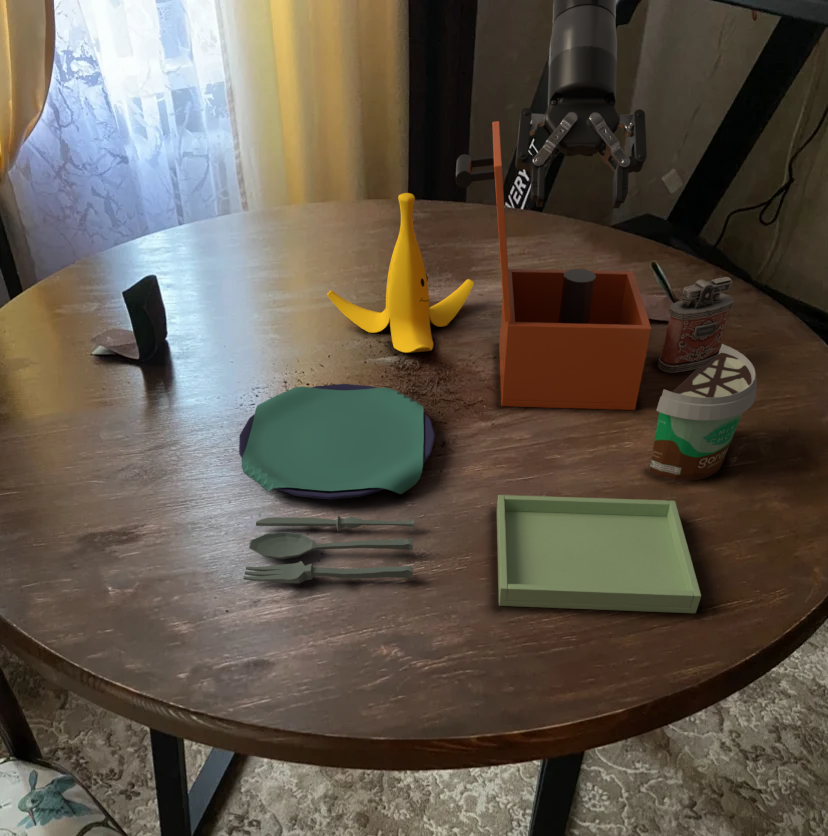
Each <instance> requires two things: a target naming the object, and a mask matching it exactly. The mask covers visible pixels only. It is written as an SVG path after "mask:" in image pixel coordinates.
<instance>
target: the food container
mask: <svg viewBox="0 0 828 836" xmlns="http://www.w3.org/2000/svg"><path fill="white" fill-rule="evenodd" d="M719 350H720V352H719V354H718V355H717V356H716V357H715V358H714V359H713V360H711V361H710V362H709V363H707V364H706V365H704V366H702V367H700V368H697V369H694V371H693V372H692V373H691V374H689V375H688V376H687V377H686V378H685V379H684V381H682V382H681V383H680V384H679V385H678V386H676V388H674V389H673V390H672V391H670V390H667V389H666V388H665V389H662V390H663V391H662V393H661V396H660V398H659V401H658V404H657V407H656V412H658V417H657V423H656V429H655V435H654V441H653V446H652V451H651V459H650V463H649V469H648V473H649V474H651V475H654V476H657V477H658V478H659V477H660V478H664V479H669V480H674V481H688V482H689V481H690V482H692V481H696V480H703V479H706V478H708V477H711V476H713V475H714V474H716V473H717V472H718V471H720V469H721V467H722V465H723V463H724V460H725V457H726V455H727V452H728V450H729V448H730V445H731V443H732V440H733V437H734V435H735V433H736V430H737V428H738V425H739V423H740V420H741V417H742V415H743V413H745V412H746V411H747V410H749V409H750V408H751V407H752V406H753V404H754V403H755V401H756V399H757V386H758V378H757V374H756V369H755V366H754V365H753V362H751V361H750V360H749V358H747V356H745V355H744V354H743V353H741V352H740V351H738V350H736V349H735V348H733V347H731V346H728V345H726V344H723V343H721V344H720V348H719Z"/></svg>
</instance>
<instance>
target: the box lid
mask: <svg viewBox="0 0 828 836" xmlns="http://www.w3.org/2000/svg"><path fill="white" fill-rule="evenodd" d="M500 125H501V124H500V121H499V120H497V121H492V146H493V155H489V156H483V157H475V158H474V157H473V158H472V157H471V155H469V154H465V153H463V154H460V155H458V156H459V157H457V159H456V167H455V183H456V185H457V186H458V187H460V188H462V189H465V188H468V187H470V186H471V185H472V182H480V181H481V182H483V181H489V180H494V184H495V201H496V215H497V230H498V247H499V262H500V277H501V278H500V279H501V291H502V299H503V308H504V321H505V322H506V321H511V308H510V292H509V275H508V269H509V262H508V261H509V259H508V245H507V244H508V243H507V227H506V212H505V209H506V208H505V194H504V178H503V162H502V161H503V160H502V143H501V126H500ZM490 166H491V167H492V166H493V168H494V169H487V170H478V171H473V168H480V167H490Z"/></svg>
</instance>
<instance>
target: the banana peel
mask: <svg viewBox="0 0 828 836" xmlns="http://www.w3.org/2000/svg"><path fill="white" fill-rule="evenodd" d="M397 198H398V204H399V209H400V227H399V232H398V236H397V239H396V242H395V245H394V248H393V251H392V255H391V258H390V263H389V267H388V271H387V280H386V288H385V289H386V290H385V308H384V310H383V311H382V312H381V311H375V310H371V309H368V308H364V307H361V306H358V305H356V304H354V303H353V302H350V301H348V300H347V299H345V298H343V297H342V296H341V295H339V294H338V293H336V292H335V291H333V290H329V291H328V292H327V294H326V296H327V298H328V299H329V300H330V302H332V304H333V305H334V306H335V307H336V308H337V309H338V310H339V312H340V313H342V314H343V315H344V316H345V317H346V318H347V319H349V321H351V322H352V323H354V324H355V325H356V326H357V327H359V328H360V329H362V330H364V331H365V332H366V333H367V332H368V333H373V334H374V333H379V332H382V331H383V330H385V329H386V328H387V327H388V326H389V327H390V335H391V342H392V345H393V348H394V349H395V350H397V351H399V352H401V353H405V354H409V353H422V352H430V351H432V350H433V349H434V341H433V336H432V330H431V324H432V325H434V326H436V327H440V328H441V327H446V326H448V325H449V324H450V322H451V321H452V320H453V319H454V318H455V317H456V315H457V314H458V313H459V312H460V310H461V309H462V307H463V306H464V305H465V302H466V301H467V299H468V298H469V295H470V293H471V292H472V289H473V287H474V285H475V282H474V281H473V280H472V279H469V278H468V279H467V278H466V280H465V281H464V282H463V283H462V284H461V285H460V286H459V287H457V289H455V290H454V291H453V292H452V293H450V294H449V295H448V296H447V297H445V298H444V299H442V300H441V301H439V302H437V303H435V304H433V305H431V306H430V293H429V284H428V280H429V276H428V274H427V272H426V267H425V264H424V259H423V255H422V253H421V248H420V246H419V243H418V240H417V237H416V233H415V228H414V223H413V222H414V220H413V219H414V205H415V201H416V197H415V195H414V194H413V193H410V192H403V193H401V194H399V195H398V197H397Z"/></svg>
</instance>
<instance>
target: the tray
mask: <svg viewBox="0 0 828 836" xmlns="http://www.w3.org/2000/svg"><path fill="white" fill-rule="evenodd" d="M496 538H497V539H496V541H497V542H496V545H497V580H498V581H497V582H498V584H497V585H498V588H497V589H498V607H499V606H500V607H518V608H519V607H521V608H548V609H572V610H573V609H574V610H575V609H577V610H596V611H597V610H598V611H626V612H646V613H647V612H648V613H649V612H651V613H674V614H675V613H676V614H677V613H678V614H697V611H698V608H699V605H700V601H701V598H702V594H701V590H700V586H699V582H698V579H697V575H696V572H695V567H694V564H693V560H692V557H691V553H690V549H689V546H688V542H687V538H686V535H685V532H684V528H683V524H682V520H681V516H680V514H679V509H678V505H677V502H676V500H667V499H665V500H664V499H638V498H637V499H635V498H608V497H575V496H574V497H573V496H547V495H546V496H545V495H544V496H543V495H518V494H517V495H516V494H498V495H497V502H496Z"/></svg>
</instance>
